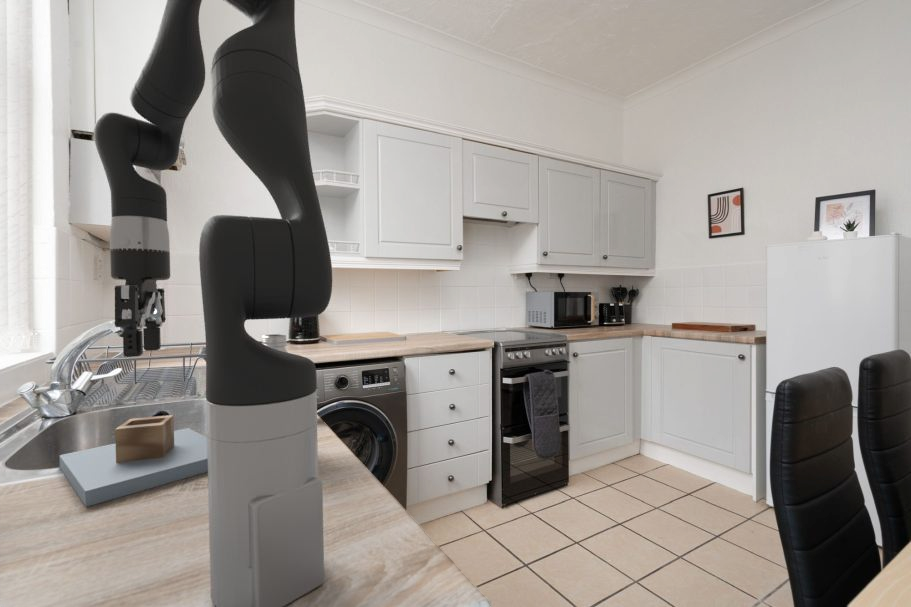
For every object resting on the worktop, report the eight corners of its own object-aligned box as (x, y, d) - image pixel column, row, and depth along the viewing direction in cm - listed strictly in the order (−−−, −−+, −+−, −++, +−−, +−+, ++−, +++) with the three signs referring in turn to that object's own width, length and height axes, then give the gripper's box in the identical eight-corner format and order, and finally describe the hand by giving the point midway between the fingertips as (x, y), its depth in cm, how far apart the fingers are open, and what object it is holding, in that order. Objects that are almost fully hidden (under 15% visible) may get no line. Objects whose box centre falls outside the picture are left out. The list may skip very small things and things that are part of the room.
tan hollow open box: (174, 445, 72) (173, 414, 72) (163, 457, 67) (162, 424, 66) (131, 449, 70) (130, 418, 70) (116, 462, 65) (115, 429, 65)
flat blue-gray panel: (233, 464, 69) (232, 426, 69) (85, 506, 55) (84, 459, 55) (188, 438, 82) (187, 406, 82) (59, 468, 68) (58, 429, 68)
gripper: (154, 244, 62) (157, 357, 63) (180, 254, 76) (183, 347, 76) (90, 242, 60) (93, 360, 60) (129, 253, 73) (131, 349, 74)
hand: (143, 353), depth 68 cm, fingers open, 8 cm apart
